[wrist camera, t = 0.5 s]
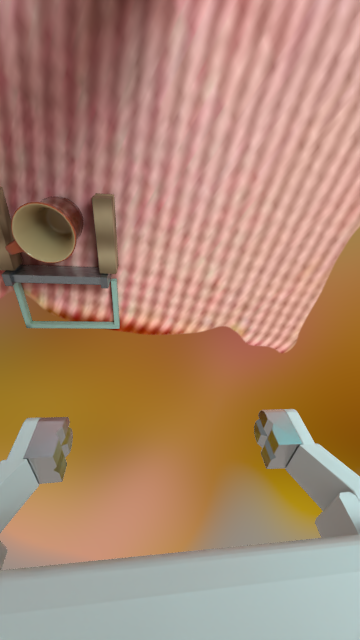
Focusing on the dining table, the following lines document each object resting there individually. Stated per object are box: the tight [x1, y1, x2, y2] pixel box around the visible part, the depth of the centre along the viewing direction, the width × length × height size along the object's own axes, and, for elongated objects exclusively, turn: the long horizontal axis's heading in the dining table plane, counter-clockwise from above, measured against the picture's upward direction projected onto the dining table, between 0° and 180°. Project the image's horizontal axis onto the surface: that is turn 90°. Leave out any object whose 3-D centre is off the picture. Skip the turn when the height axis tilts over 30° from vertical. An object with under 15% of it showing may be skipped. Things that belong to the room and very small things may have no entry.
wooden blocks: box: [0, 187, 118, 274], centre depth 45 cm, size 13×21×4 cm, turn 85°
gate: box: [2, 264, 111, 288], centre depth 49 cm, size 2×18×5 cm, turn 85°
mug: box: [5, 197, 83, 263], centre depth 42 cm, size 12×9×10 cm
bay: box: [13, 279, 120, 329], centre depth 55 cm, size 12×20×1 cm, turn 85°
